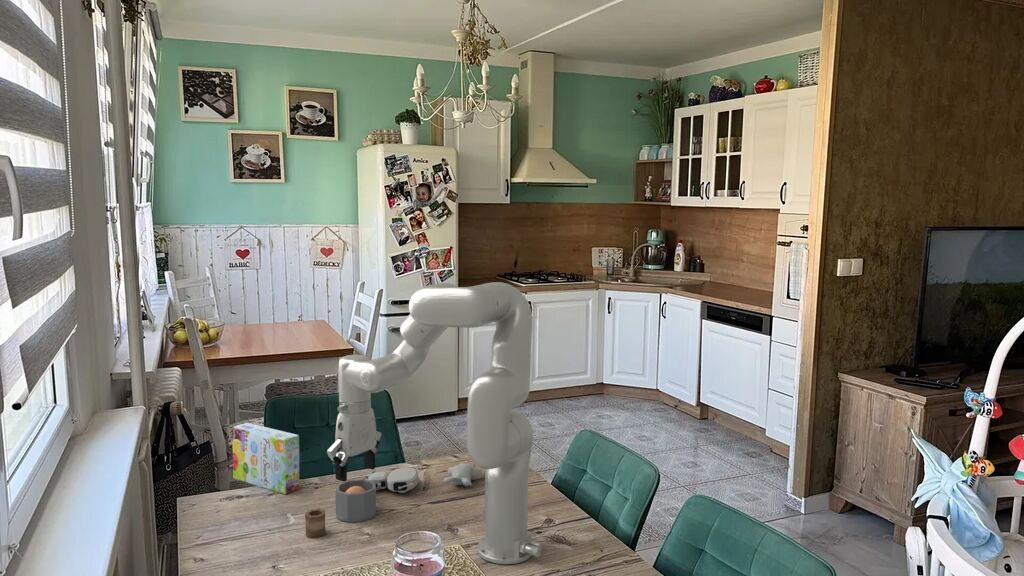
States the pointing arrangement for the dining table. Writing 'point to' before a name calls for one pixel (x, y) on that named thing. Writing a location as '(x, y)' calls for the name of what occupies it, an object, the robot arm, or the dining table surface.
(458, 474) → the bunny figurine
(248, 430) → the snack box
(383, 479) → the robot toy
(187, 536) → the dining table surface
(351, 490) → the ball
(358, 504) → the grey octagonal pot
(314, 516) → the stand
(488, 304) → the robot arm
